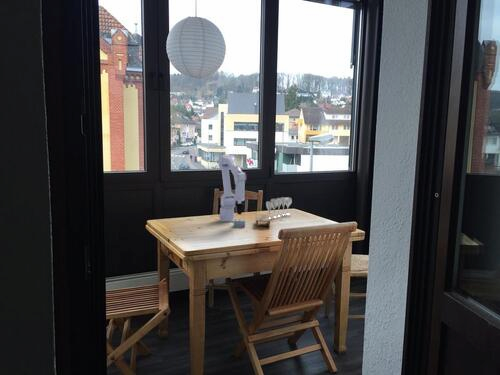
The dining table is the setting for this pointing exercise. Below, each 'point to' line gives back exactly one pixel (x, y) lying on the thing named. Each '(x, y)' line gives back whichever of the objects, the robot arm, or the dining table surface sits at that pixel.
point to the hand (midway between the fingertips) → (239, 213)
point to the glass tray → (239, 223)
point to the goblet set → (278, 204)
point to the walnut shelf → (262, 219)
